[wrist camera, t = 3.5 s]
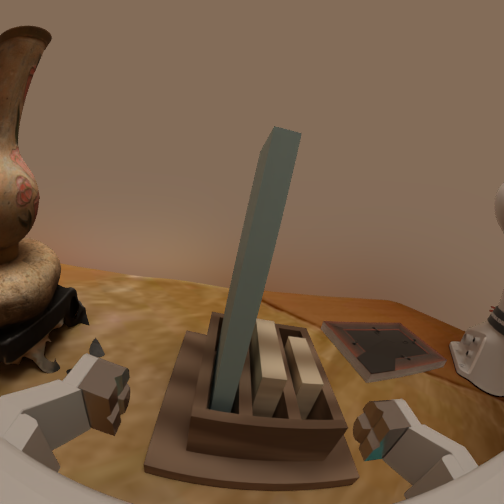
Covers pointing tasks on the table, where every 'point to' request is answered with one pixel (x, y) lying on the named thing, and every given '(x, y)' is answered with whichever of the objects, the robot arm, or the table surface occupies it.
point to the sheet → (253, 263)
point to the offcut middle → (266, 369)
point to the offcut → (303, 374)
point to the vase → (26, 223)
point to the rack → (246, 428)
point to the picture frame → (382, 349)
